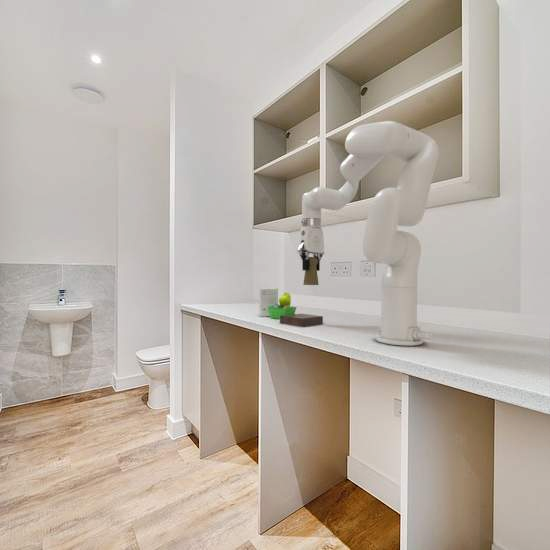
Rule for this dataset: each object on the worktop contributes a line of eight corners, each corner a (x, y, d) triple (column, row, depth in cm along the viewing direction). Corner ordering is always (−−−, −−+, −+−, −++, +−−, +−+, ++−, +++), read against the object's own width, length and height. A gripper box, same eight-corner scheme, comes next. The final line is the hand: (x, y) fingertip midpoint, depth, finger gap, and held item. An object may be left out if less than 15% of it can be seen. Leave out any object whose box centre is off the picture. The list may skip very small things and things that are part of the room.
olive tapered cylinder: (313, 285, 118) (313, 256, 119) (300, 284, 122) (300, 256, 122) (321, 284, 123) (321, 257, 123) (308, 284, 127) (308, 257, 127)
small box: (275, 314, 151) (276, 288, 151) (277, 316, 145) (278, 288, 145) (259, 315, 150) (259, 287, 150) (260, 316, 143) (260, 288, 144)
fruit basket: (266, 318, 139) (266, 292, 139) (279, 316, 145) (279, 292, 146) (286, 320, 131) (286, 293, 131) (299, 318, 138) (299, 293, 138)
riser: (322, 323, 123) (322, 316, 123) (301, 326, 115) (301, 318, 115) (300, 320, 132) (300, 313, 132) (279, 323, 124) (279, 315, 124)
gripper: (303, 220, 115) (303, 269, 114) (332, 226, 126) (332, 270, 126) (289, 223, 120) (288, 270, 120) (318, 228, 131) (318, 271, 131)
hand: (311, 270), depth 123 cm, fingers closed on olive tapered cylinder, 5 cm apart
